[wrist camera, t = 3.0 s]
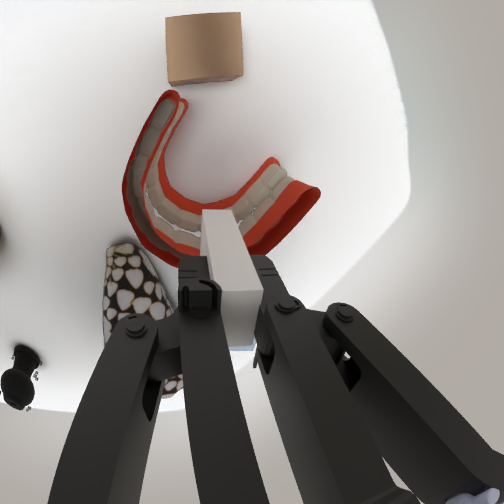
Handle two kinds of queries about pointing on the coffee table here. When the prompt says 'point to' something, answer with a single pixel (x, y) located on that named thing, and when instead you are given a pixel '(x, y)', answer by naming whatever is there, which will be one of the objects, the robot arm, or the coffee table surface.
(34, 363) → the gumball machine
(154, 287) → the seashell
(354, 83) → the coffee table surface
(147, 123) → the toy
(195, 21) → the walnut block
